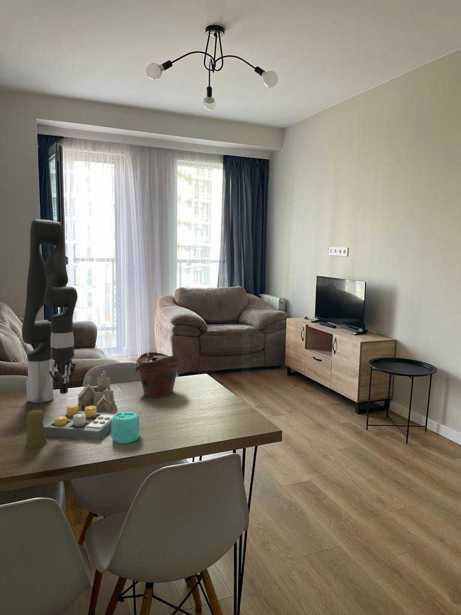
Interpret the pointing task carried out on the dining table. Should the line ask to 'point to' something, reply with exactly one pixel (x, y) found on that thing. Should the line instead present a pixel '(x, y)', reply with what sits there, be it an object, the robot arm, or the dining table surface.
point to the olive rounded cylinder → (35, 429)
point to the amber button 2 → (72, 410)
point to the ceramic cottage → (98, 396)
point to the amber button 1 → (60, 421)
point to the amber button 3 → (91, 411)
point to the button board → (82, 427)
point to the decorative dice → (125, 427)
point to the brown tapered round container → (157, 373)
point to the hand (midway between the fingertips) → (63, 393)
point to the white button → (79, 420)
